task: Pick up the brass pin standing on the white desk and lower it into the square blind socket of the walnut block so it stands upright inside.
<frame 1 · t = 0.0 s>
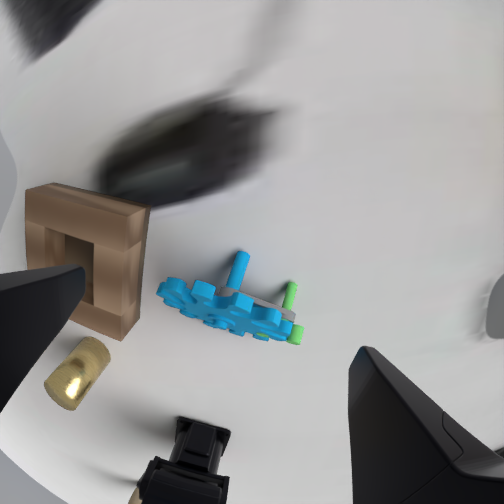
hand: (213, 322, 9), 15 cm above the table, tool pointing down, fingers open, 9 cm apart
socket block: (92, 250, 25), on the table
gear: (238, 291, 25), on the table
handle: (146, 484, 41), on the table
pin: (95, 351, 29), on the table
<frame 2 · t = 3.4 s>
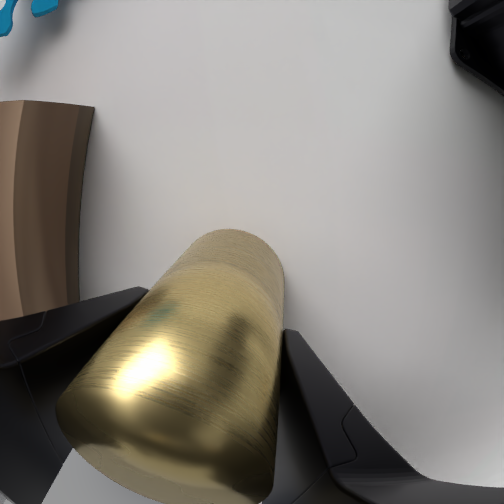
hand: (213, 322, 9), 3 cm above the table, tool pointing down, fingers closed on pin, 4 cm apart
socket block: (7, 210, 12), on the table
pin: (230, 280, 11), on the table, touching gripper
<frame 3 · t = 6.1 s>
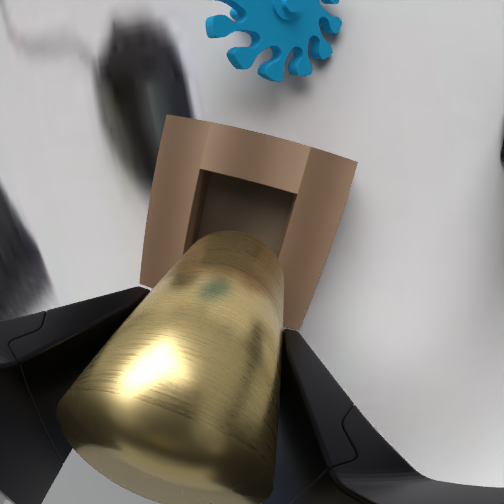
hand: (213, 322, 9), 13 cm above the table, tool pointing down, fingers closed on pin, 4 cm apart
socket block: (245, 213, 21), on the table
gear: (285, 24, 16), on the table
pin: (231, 281, 11), point 10 cm above the table, touching gripper
when the fingers open (5 cm above the table, at t = 8.9 s): pin stays where it is, resting on socket block.
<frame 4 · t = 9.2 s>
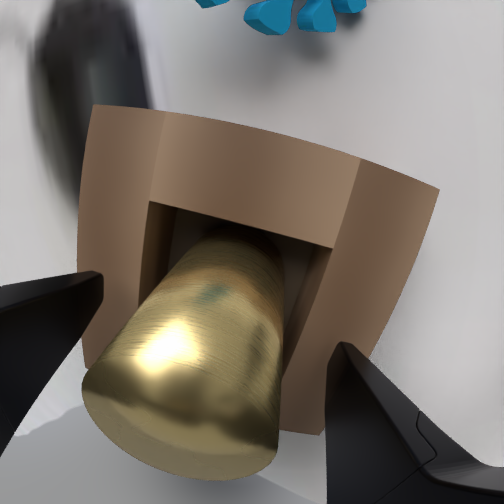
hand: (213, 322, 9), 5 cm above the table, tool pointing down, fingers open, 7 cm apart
socket block: (237, 261, 13), on the table
pin: (235, 272, 12), point 1 cm above the table, touching socket block
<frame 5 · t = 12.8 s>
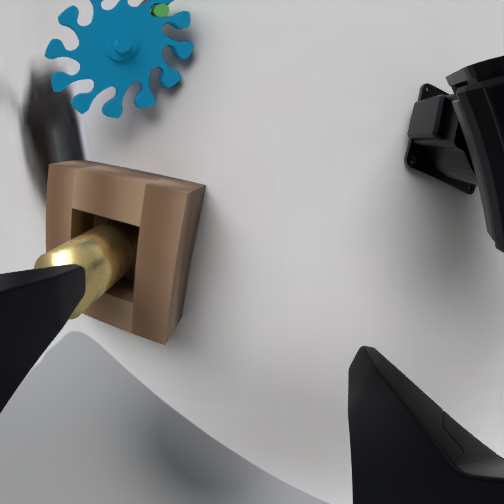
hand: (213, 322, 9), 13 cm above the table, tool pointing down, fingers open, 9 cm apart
socket block: (127, 238, 22), on the table
gear: (149, 53, 18), on the table
pin: (121, 243, 21), point 1 cm above the table, touching socket block
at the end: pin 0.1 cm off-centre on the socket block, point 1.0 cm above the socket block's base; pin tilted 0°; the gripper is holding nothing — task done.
